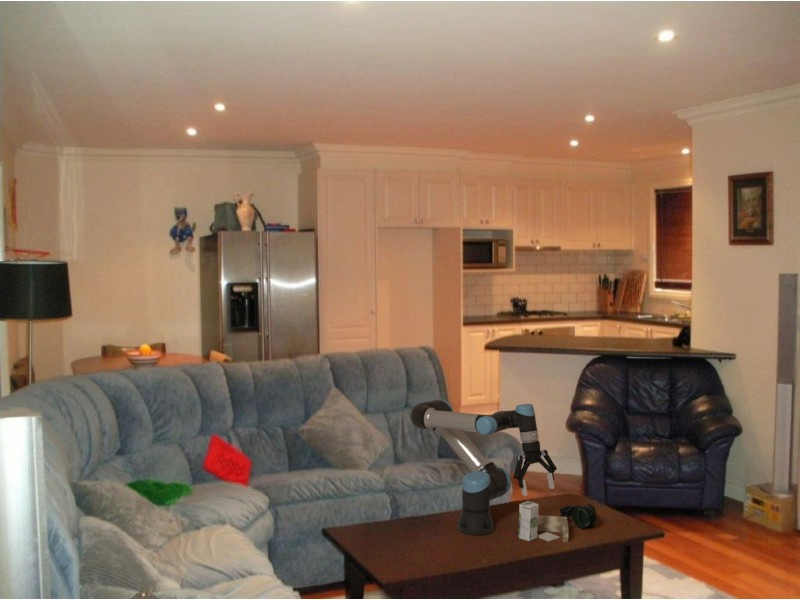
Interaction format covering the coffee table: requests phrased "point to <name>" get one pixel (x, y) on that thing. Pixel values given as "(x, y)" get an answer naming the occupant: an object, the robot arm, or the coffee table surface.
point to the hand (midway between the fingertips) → (538, 491)
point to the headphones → (580, 515)
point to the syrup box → (528, 521)
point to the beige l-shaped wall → (554, 525)
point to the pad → (548, 536)
